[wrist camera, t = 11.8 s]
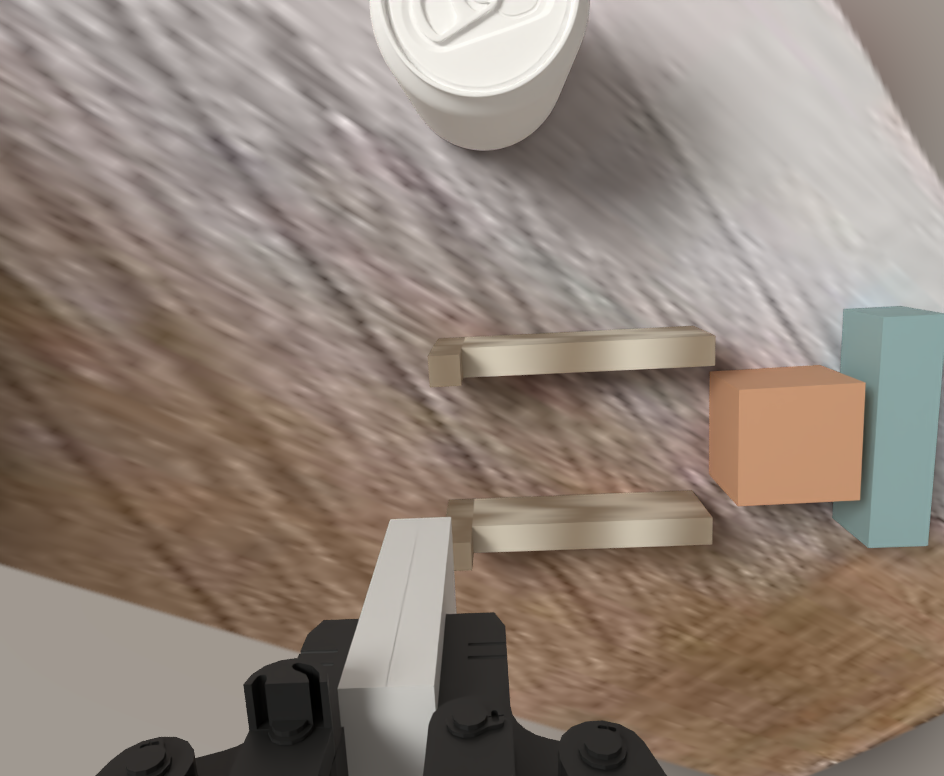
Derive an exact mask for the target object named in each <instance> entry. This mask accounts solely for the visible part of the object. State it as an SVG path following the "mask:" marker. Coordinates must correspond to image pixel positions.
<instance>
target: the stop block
mask: <svg viewBox="0 0 944 776" xmlns="http://www.w3.org/2000/svg"><path fill="white" fill-rule="evenodd" d="M943 359H944V313H938V312H932V311H926V310H920V309H914V308H909V307H903V306H895V307H875V308H855V309H844V312H843V330H842V349H841V367H840V373H842V374H845V375H847V376H850V377H852V378H855V379H857V380H860V381H863V382H865V383H866V385H865V406H864V427H863V448H862V468H861V489H860V500H855V501H834V502H833V516H832V518H833V519H834V520H836V521H837V522H838V523H839V524H840V525H841V526H843V527H844V528H845V529H846V530H847V531H849V532H850V533H851V534H852V535H853V536H855V537H856V538H857V539H858V540H859V541H861V542H862V543H863V544H864V545H865V546H867V547H868V548H880V547H909V546H928V537H929V525H930V513H931V502H932V490H933V478H934V466H935V454H936V442H937V430H938V419H939V407H940V395H941V383H942V371H943Z"/></svg>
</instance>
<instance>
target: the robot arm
mask: <svg viewBox="0 0 944 776" xmlns="http://www.w3.org/2000/svg"><path fill="white" fill-rule="evenodd" d="M244 693H245V700H246V708H247V715H248V723H249V733H248V735H247V737H246V739H245V741H244V743H243V744H240V745H239V746H237V747H233V748H230V749H228V750H225V751H221V752H217V753H214V754H210V755H206V756H202V757H198V758H195V755H194V749H193V748H192V747H191V745H190V744H189V743H188V741H185V740H183V739H180V738H177V737H158V738H154V739H150V740H146V741H142V742H140V743H138V744H136V745H134V746H132V747H130V748H128V749H125V750H124V751H123V752H122V753H120V754H119V755H117V756H116V757H115V758H114V759H112V760H111V761H110V762H109V763H108V764H107V765H106V766H105V767H104V768H103V769H102V770H101V771H100V772H99V773H98V774H97V775H96V776H667V775H666V774H665V773H664V771H663V769H662V768H661V766H660V765H659V763H658V762H657V760H656V759H655V757H654V756H653V754H652V753H651V751H650V750H649V748H648V747H647V746H646V744H645V743H644V741H643V740H642V739H641V738H640V737H639V736H638V735H637V734H636V733H635V732H634V731H632V730H630V729H628V728H626V727H624V726H622V725H620V724H616V723H611V722H606V721H588V722H584V723H581V724H578V725H576V726H573V727H571V728H570V729H569V730H568V731H567V732H566V733H565V734H563V735H562V737H561V740H560V741H557V740H552V739H548V738H545V737H541V736H538V735H535V734H533V733H531V732H530V731H528V730H526V729H525V728H523V727H522V726H521V725H520V724H519V723H518V722H517V721H516V719H515V718H514V716H513V715H512V711H511V707H510V695H509V679H508V663H507V648H506V632H505V625H504V624H503V623H502V622H501V620H500V619H499V618H498V617H497V615H496V614H495V613H465V614H456V597H455V579H454V561H453V542H452V524H451V517H437V518H410V519H390V522H389V525H388V528H387V532H386V535H385V538H384V541H383V544H382V548H381V551H380V554H379V557H378V560H377V564H376V567H375V570H374V573H373V576H372V580H371V583H370V586H369V589H368V592H367V596H366V599H365V602H364V605H363V608H362V612H361V615H360V618H359V619H345V620H323V621H322V622H321V623H320V624H319V625H318V626H317V627H316V628H314V629H313V630H312V631H311V632H310V633H309V634H308V635H307V637H306V640H305V642H304V644H303V647H302V649H301V654H299V656H298V658H294V659H287V660H281V661H278V662H275V663H272V664H269V665H267V666H264V667H263V668H261V669H260V670H258V671H257V672H255V673H253V674H252V675H251V676H250V677H249V679H248V680H247V681H246V682H245V684H244Z"/></svg>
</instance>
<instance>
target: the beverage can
mask: <svg viewBox="0 0 944 776" xmlns="http://www.w3.org/2000/svg"><path fill="white" fill-rule="evenodd" d="M589 7H590V0H370V15H371V22H372V27H373V31H374V35H375V39H376V42H377V44H378V47H379V50H380V52H381V54H382V56H383V58H384V60H385V62H386V64H387V65H388V67H389V69H390V70H391V72H392V73H393V75H394V77H395V78H396V80H397V81H398V83H399V84H400V86H401V87H402V89H403V91H404V92H405V94H406V95H407V97H408V98H409V100H410V101H411V103H412V105H413V106H414V108H415V109H416V111H417V112H418V114H419V115H420V117H421V118H422V120H423V121H424V122H425V123H426V124H427V125H428V126H429V128H430V129H432V130H433V131H434V132H435V133H436V134H437V135H439V136H440V137H442V138H443V139H445V140H446V141H448V142H450V143H452V144H454V145H457V146H460V147H463V148H467V149H472V150H482V151H484V150H496V149H501V148H505V147H508V146H511V145H513V144H516V143H518V142H520V141H521V140H523V139H525V138H526V137H528V136H529V135H531V134H532V133H533V132H534V131H535V130H537V129H538V128H539V127H540V126H541V125H542V123H543V122H544V121H545V120H546V119H547V117H548V116H549V114H550V113H551V111H552V110H553V108H554V106H555V104H556V102H557V100H558V98H559V95H560V93H561V91H562V88H563V86H564V84H565V81H566V79H567V76H568V74H569V72H570V69H571V67H572V65H573V62H574V60H575V58H576V55H577V53H578V50H579V48H580V46H581V43H582V40H583V37H584V34H585V30H586V26H587V22H588V16H589Z"/></svg>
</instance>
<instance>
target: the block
mask: <svg viewBox="0 0 944 776" xmlns="http://www.w3.org/2000/svg"><path fill="white" fill-rule="evenodd" d="M865 385H866V383H865V382H863V381H860V380H857V379H855V378H852V377H850V376H847V375H845V374H842V373H839V372H837V371H834V370H832V369H829V368H826V367H824V366H821V365H813V366H796V367H779V368H762V369H744V370H727V371H710V384H709V475H710V476H711V477H712V478H713V479H714V480H715V481H716V483H717V484H718V485H719V486H720V487H721V488H722V489H723V490H724V491H725V492H726V494H727V495H728V496H729V497H730V498H731V499H732V500H733V501H734V502H735V504H736V505H737V506H752V505H773V504H793V503H814V502H834V501H855V500H860V489H861V468H862V448H863V427H864V406H865Z"/></svg>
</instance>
